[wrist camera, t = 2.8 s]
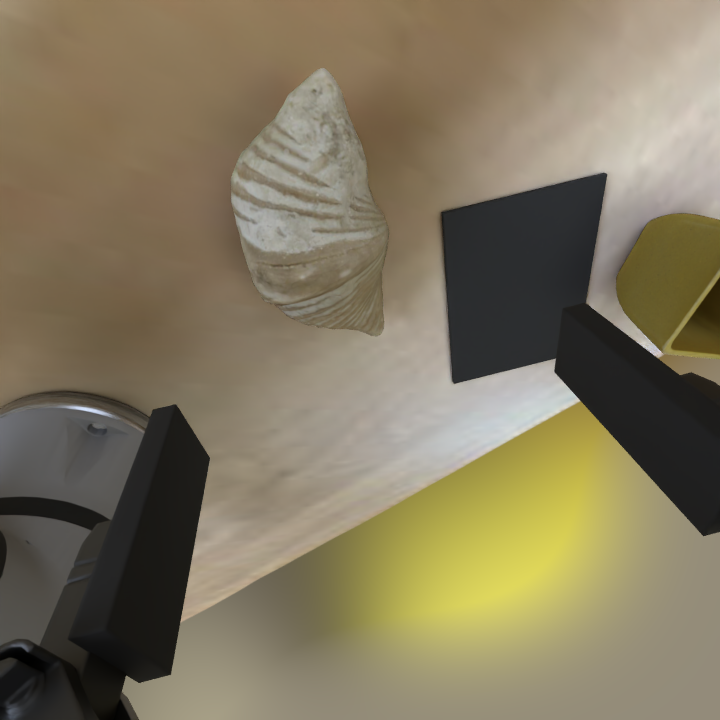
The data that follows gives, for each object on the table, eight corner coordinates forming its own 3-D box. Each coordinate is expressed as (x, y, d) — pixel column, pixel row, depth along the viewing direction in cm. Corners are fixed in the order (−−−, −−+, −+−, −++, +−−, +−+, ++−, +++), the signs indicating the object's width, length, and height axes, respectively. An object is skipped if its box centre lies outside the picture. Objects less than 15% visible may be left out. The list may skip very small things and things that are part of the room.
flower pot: (582, 296, 35) (661, 355, 28) (639, 190, 30) (752, 228, 23) (663, 306, 37) (756, 363, 30) (729, 208, 32) (858, 248, 25)
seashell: (429, 334, 28) (348, 366, 20) (322, 337, 33) (223, 364, 25) (411, 109, 26) (310, 40, 17) (298, 150, 31) (179, 111, 22)
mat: (452, 381, 38) (454, 384, 38) (441, 212, 29) (443, 213, 28) (574, 350, 39) (577, 353, 38) (603, 172, 29) (607, 173, 29)
